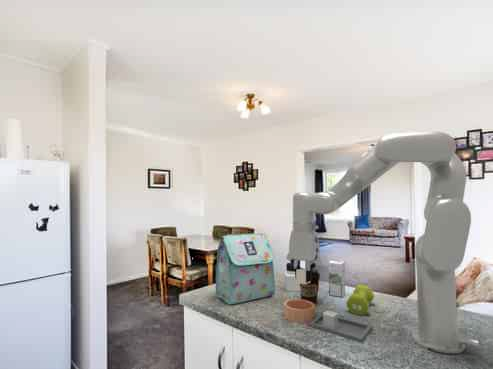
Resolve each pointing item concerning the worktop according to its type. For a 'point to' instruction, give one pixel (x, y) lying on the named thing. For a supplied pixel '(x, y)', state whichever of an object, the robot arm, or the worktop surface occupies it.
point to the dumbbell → (360, 300)
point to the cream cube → (301, 276)
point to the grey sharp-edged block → (330, 319)
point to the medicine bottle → (290, 278)
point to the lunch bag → (244, 268)
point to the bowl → (299, 310)
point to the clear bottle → (337, 278)
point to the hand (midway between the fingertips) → (303, 279)
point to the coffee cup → (311, 288)
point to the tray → (344, 328)
